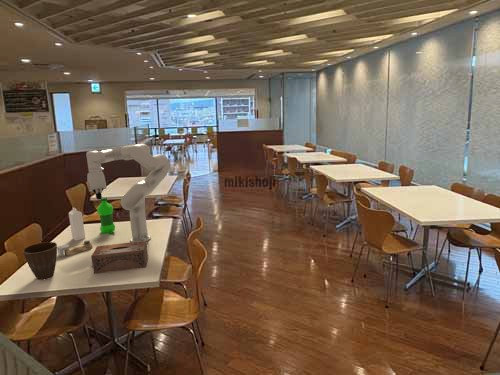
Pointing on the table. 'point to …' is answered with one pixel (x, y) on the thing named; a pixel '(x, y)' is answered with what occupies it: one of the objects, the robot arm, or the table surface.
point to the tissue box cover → (119, 257)
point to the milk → (76, 224)
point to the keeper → (61, 248)
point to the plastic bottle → (106, 216)
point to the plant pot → (42, 259)
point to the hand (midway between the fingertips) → (99, 199)
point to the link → (78, 248)
